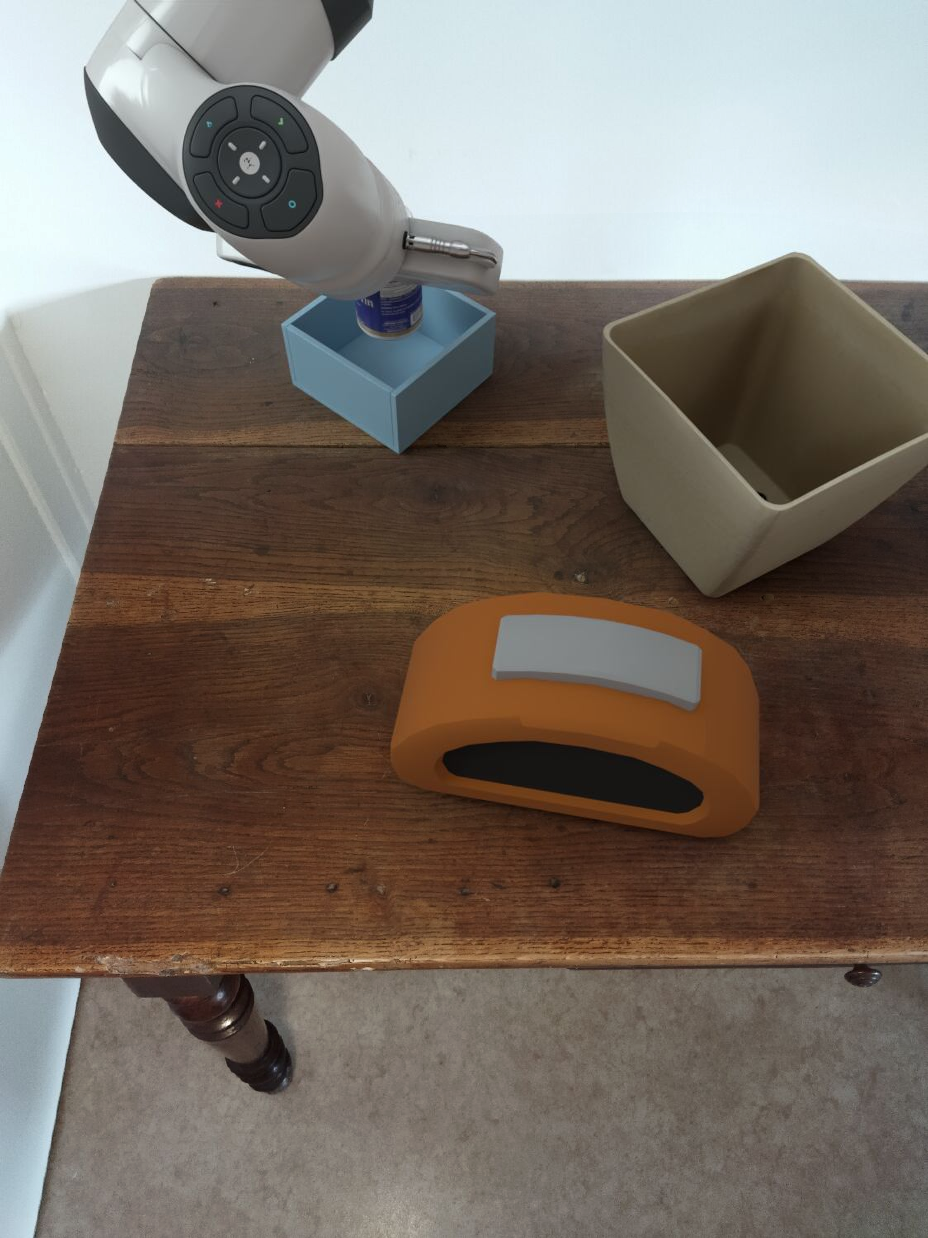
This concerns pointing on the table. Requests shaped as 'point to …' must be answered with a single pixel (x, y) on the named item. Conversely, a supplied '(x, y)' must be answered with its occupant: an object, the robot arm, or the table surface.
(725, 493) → the flower pot
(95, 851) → the table surface
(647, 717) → the alarm clock
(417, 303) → the pill bottle
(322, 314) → the open box
